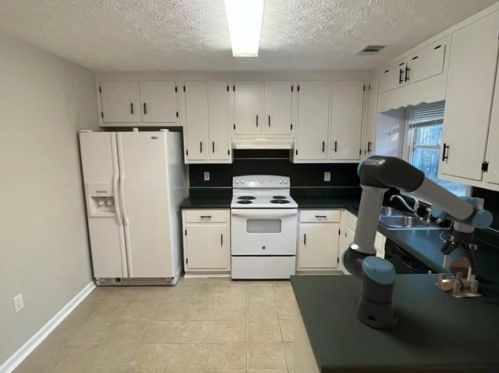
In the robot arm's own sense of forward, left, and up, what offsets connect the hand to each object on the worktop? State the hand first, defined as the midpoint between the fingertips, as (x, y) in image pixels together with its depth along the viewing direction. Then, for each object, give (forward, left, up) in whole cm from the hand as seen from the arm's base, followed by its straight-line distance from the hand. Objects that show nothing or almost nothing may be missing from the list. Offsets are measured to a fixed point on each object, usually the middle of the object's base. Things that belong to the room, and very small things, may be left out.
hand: (457, 273), depth 130 cm
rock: (+15, +12, -9) cm, 21 cm away
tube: (+1, -1, -7) cm, 7 cm away
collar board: (0, 0, -9) cm, 9 cm away
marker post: (+3, +6, -8) cm, 10 cm away
